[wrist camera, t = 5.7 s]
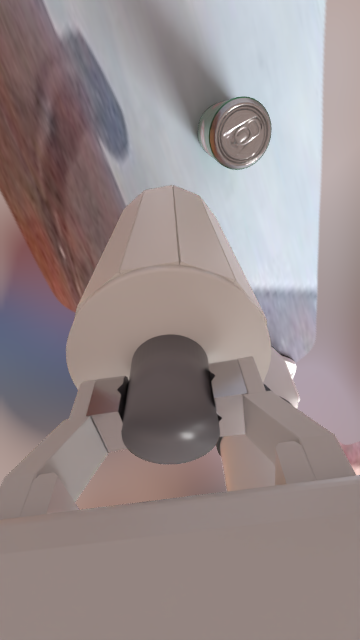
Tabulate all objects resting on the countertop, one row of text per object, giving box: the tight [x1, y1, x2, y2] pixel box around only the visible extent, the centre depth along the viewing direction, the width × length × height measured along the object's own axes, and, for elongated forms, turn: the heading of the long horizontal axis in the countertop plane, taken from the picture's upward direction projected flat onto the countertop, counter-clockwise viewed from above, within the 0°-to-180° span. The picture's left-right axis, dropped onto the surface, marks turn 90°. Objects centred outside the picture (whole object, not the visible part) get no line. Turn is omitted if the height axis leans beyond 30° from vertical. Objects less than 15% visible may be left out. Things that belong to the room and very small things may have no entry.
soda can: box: [198, 97, 271, 170], centre depth 29 cm, size 5×5×12 cm
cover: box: [66, 185, 271, 464], centre depth 16 cm, size 7×7×17 cm
